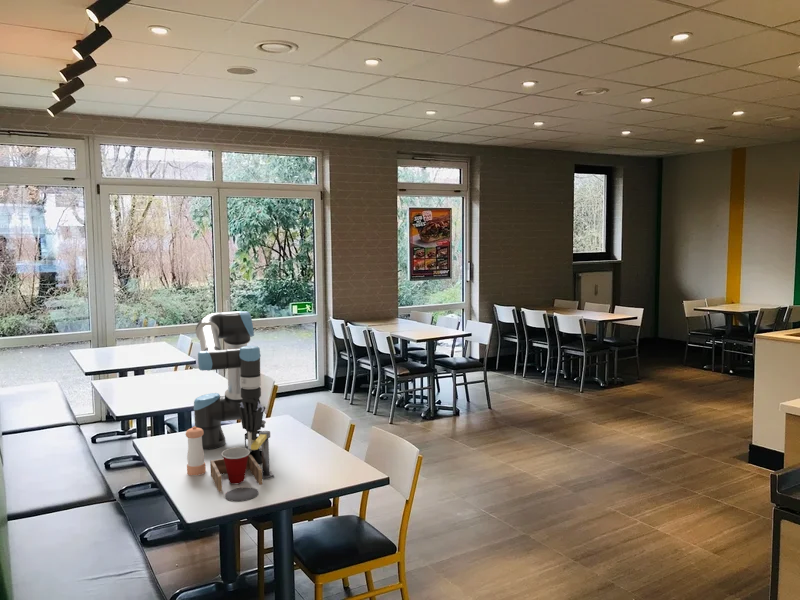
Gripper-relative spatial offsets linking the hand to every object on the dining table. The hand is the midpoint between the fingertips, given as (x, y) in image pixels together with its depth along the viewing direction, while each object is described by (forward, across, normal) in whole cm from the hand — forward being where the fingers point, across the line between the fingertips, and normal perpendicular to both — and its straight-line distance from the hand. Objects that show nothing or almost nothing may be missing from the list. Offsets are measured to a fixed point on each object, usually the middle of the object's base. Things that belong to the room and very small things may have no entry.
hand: (252, 447), depth 248 cm
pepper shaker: (+16, -31, -2) cm, 35 cm away
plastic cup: (+15, -9, 0) cm, 18 cm away
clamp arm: (-1, +1, +4) cm, 4 cm away
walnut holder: (+15, -10, +1) cm, 18 cm away
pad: (+15, +3, -9) cm, 18 cm away
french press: (+15, -20, +21) cm, 33 cm away
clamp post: (+15, -3, +10) cm, 18 cm away
